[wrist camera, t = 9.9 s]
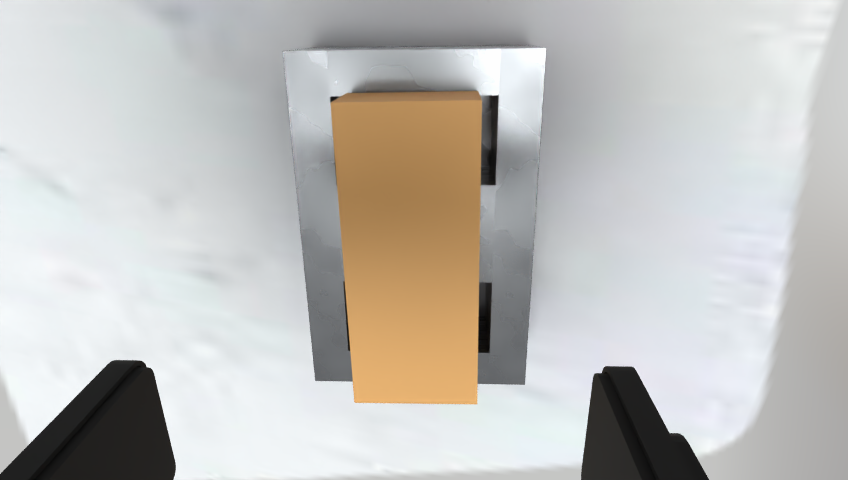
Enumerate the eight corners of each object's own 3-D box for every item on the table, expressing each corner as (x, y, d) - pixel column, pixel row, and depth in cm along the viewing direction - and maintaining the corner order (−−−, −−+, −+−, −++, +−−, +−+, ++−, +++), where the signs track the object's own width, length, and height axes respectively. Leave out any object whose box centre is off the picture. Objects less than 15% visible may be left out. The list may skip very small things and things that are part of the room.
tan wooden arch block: (362, 83, 25) (330, 102, 18) (473, 81, 24) (481, 99, 18) (376, 318, 29) (354, 402, 22) (471, 319, 29) (477, 404, 22)
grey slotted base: (311, 47, 25) (282, 51, 21) (530, 45, 25) (546, 48, 20) (334, 332, 30) (315, 380, 26) (514, 335, 30) (524, 384, 26)
